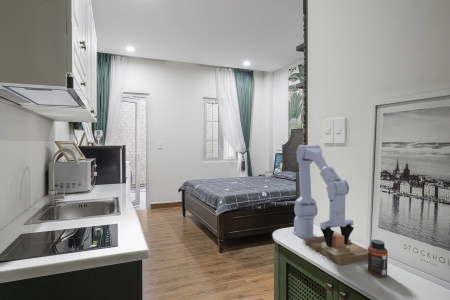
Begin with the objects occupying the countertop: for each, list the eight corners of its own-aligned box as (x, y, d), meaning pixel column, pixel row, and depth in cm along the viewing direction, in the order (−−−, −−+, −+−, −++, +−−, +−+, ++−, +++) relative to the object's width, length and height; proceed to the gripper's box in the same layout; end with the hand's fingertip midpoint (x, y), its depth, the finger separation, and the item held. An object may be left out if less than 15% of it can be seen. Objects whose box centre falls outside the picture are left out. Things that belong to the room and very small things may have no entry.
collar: (321, 247, 107) (321, 242, 107) (337, 245, 109) (337, 240, 109) (335, 255, 99) (335, 250, 99) (352, 252, 102) (352, 247, 102)
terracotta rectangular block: (335, 252, 102) (336, 237, 102) (328, 248, 106) (328, 233, 106) (344, 251, 103) (344, 236, 103) (336, 247, 107) (336, 232, 107)
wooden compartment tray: (305, 244, 117) (305, 235, 117) (334, 239, 122) (334, 231, 122) (340, 265, 97) (340, 254, 97) (373, 258, 102) (373, 248, 102)
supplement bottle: (390, 279, 87) (391, 245, 87) (370, 277, 89) (371, 244, 88) (383, 270, 93) (383, 238, 93) (365, 268, 95) (365, 237, 94)
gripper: (329, 215, 98) (328, 251, 98) (359, 211, 102) (359, 246, 103) (316, 210, 104) (316, 244, 105) (345, 207, 109) (345, 239, 110)
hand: (336, 244), depth 104 cm, fingers open, 7 cm apart
